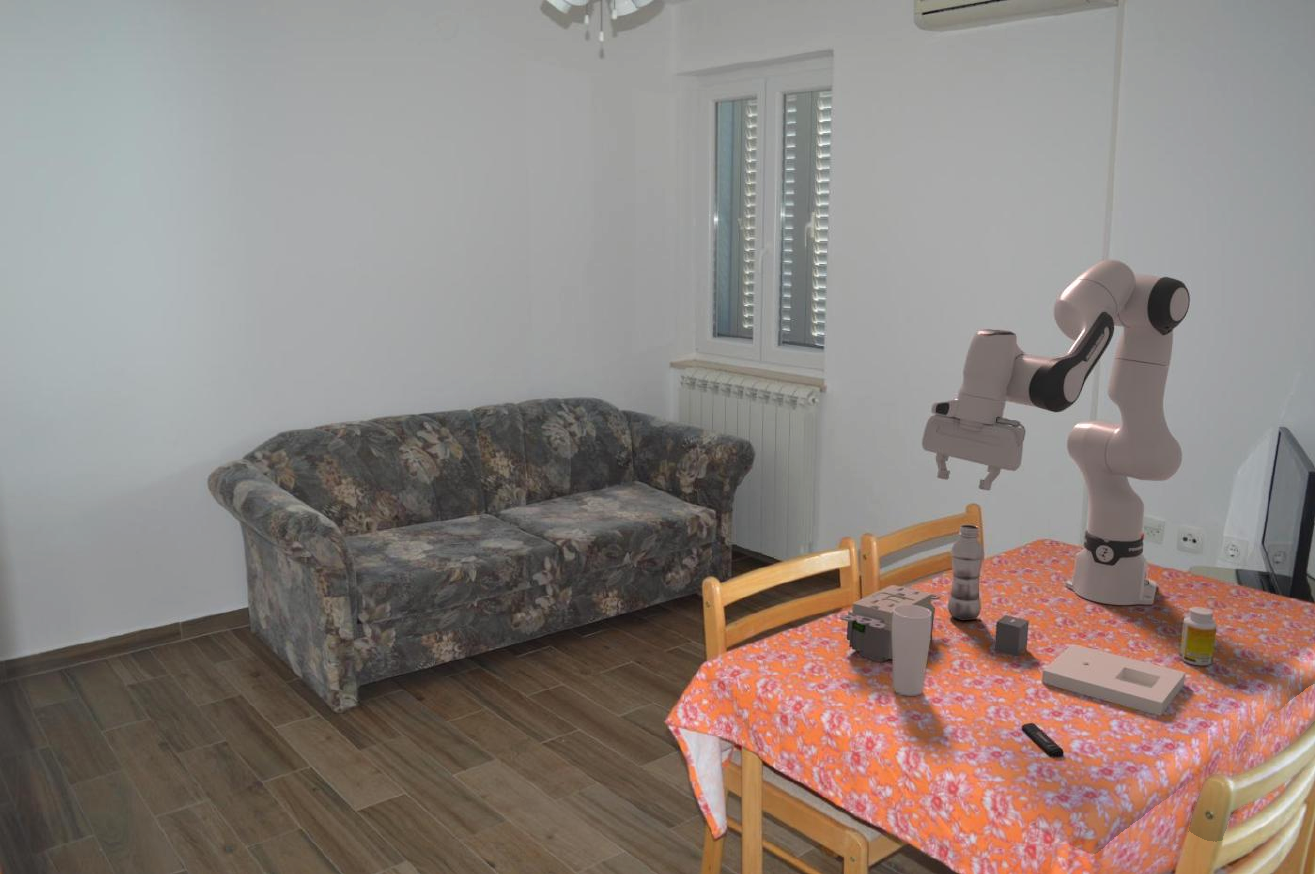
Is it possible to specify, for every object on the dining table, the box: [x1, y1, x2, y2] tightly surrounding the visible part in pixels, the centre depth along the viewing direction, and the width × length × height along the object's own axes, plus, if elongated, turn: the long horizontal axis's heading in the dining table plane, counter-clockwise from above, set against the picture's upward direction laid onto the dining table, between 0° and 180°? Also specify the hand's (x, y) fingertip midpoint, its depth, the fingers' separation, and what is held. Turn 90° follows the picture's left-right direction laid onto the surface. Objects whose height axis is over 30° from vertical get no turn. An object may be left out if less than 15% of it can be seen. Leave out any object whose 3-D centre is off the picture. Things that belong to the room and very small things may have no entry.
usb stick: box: [1021, 722, 1064, 758], centre depth 163 cm, size 10×3×2 cm, turn 8°
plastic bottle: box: [947, 524, 985, 621], centre depth 214 cm, size 6×7×20 cm
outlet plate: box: [1041, 643, 1187, 717], centre depth 184 cm, size 16×20×2 cm
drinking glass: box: [891, 605, 932, 697], centre depth 180 cm, size 7×7×15 cm
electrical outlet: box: [839, 584, 941, 662], centre depth 200 cm, size 12×28×10 cm, turn 142°
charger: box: [994, 614, 1030, 657], centre depth 199 cm, size 5×5×6 cm
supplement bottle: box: [1179, 606, 1218, 667], centre depth 194 cm, size 6×6×10 cm
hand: (962, 484), depth 194 cm, fingers open, 8 cm apart
